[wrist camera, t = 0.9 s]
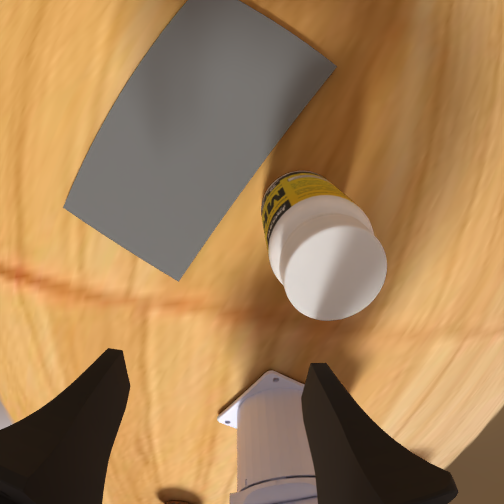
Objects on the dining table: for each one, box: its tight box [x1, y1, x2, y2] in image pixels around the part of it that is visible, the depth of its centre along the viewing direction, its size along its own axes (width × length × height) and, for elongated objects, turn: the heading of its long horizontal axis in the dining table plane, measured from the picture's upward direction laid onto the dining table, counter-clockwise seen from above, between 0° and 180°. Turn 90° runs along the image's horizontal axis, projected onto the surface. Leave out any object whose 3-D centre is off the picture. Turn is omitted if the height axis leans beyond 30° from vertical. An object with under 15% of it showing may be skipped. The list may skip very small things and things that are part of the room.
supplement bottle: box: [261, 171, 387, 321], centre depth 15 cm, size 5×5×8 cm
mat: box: [63, 0, 337, 282], centre depth 17 cm, size 9×16×1 cm, turn 145°
